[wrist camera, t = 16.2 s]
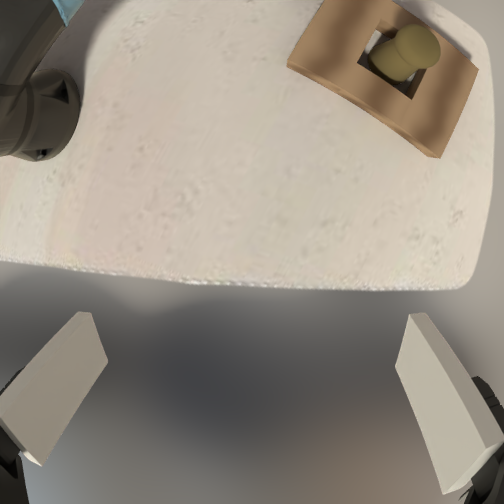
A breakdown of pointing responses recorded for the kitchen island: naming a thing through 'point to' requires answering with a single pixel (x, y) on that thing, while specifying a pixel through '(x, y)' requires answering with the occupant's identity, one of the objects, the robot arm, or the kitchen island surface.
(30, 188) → the kitchen island surface
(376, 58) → the cork
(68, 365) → the robot arm
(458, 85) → the wooden block with hole
